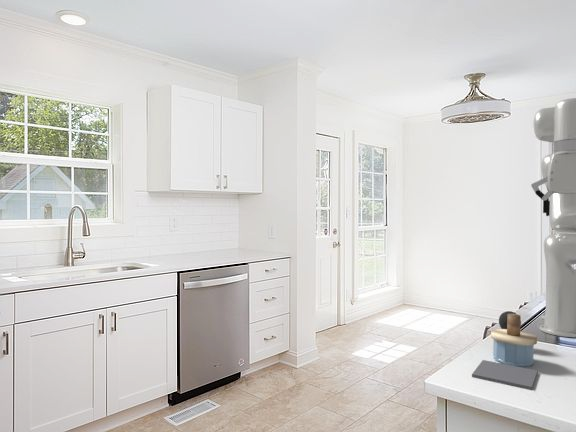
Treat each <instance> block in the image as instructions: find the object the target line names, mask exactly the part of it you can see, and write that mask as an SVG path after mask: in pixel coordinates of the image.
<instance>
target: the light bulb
mask: <svg viewBox="0 0 576 432" xmlns="http://www.w3.org/2000/svg"><path fill="white" fill-rule="evenodd" d="M507 314H517V313H516V312H514V311H512V310H510V311H509V310H508V311H504V312H502V313H501V314H500V316H499V318H498V323H499V327H500V329H507ZM521 326H522V320H521V321H520V327H521Z"/></svg>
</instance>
